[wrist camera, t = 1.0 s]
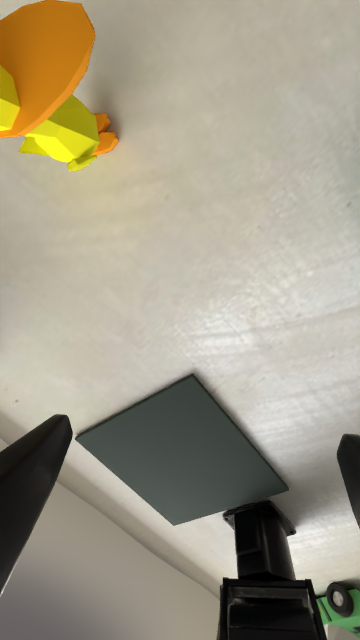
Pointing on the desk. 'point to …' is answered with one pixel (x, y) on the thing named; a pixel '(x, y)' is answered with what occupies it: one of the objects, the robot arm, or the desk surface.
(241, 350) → the desk surface
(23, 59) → the toy figure
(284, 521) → the robot arm
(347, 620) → the toy car
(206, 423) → the mat
